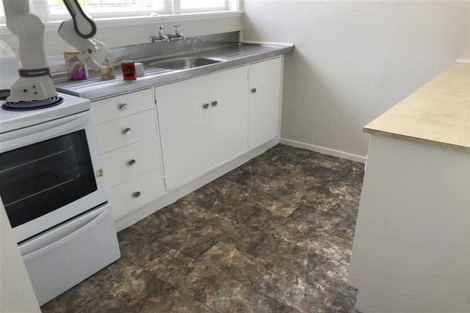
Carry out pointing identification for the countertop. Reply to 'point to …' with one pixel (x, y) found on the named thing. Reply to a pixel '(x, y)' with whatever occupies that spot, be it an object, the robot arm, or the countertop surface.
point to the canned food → (128, 69)
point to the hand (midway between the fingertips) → (110, 65)
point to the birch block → (107, 72)
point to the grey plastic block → (139, 69)
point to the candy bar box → (75, 65)
